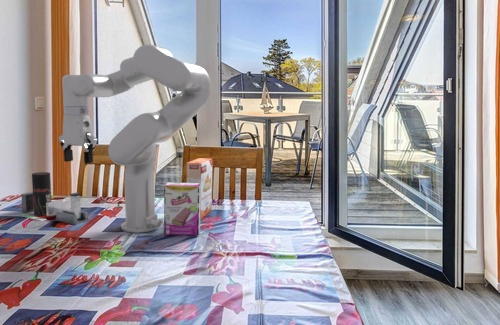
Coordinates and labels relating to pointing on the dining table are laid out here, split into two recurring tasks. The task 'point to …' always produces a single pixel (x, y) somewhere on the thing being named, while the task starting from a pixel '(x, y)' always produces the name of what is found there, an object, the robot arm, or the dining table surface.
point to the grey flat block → (27, 202)
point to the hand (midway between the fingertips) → (78, 162)
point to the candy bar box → (182, 208)
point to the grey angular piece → (58, 206)
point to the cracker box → (202, 181)
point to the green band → (27, 216)
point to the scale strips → (39, 218)
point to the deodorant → (41, 192)
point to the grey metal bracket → (72, 217)
